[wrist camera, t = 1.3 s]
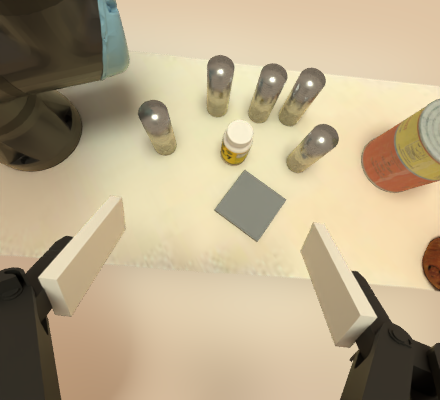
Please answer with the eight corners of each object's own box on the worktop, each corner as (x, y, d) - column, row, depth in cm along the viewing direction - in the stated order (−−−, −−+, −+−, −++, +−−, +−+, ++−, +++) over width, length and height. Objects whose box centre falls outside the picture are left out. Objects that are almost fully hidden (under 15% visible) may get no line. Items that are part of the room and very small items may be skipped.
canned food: (418, 144, 44) (495, 108, 33) (416, 198, 42) (498, 180, 30) (363, 131, 44) (421, 89, 32) (358, 184, 42) (418, 160, 30)
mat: (214, 210, 39) (214, 209, 38) (243, 171, 41) (244, 169, 40) (256, 241, 38) (257, 241, 38) (284, 200, 40) (286, 199, 39)
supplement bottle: (216, 147, 41) (219, 122, 33) (239, 138, 42) (247, 112, 34) (227, 170, 41) (232, 150, 32) (250, 160, 41) (261, 139, 33)
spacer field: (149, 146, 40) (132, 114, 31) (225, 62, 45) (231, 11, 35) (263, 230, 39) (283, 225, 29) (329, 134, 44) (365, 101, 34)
